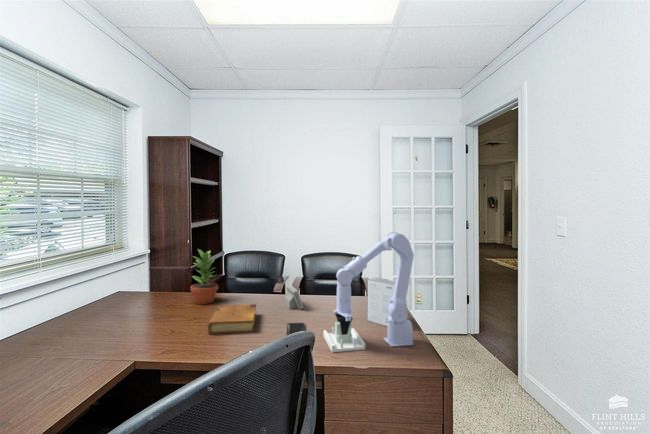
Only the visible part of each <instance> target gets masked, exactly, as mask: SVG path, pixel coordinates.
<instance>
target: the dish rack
mask: <svg viewBox="0 0 650 434" xmlns="http://www.w3.org/2000/svg"><path fill="white" fill-rule="evenodd" d="M331 328H332V331H331V332H330V333H329V332H327V330H326V329H323V338H324V339H325V340H324V341H325V342H326V344H327V345H328V347H329V350H330V351H331V353H339V352H349V351H350V352H351V351H352V352H353V351H360V350H361V351H364V350H366V342H365V341H364V339H363V338H362V337H361V336H360V335H359V333H358V332H357V331H356V329H355V328H354V327H351V334H350V341H343V340H342V339H341V342H340V335H338V342H336V340H335V326H332V327H331Z"/></svg>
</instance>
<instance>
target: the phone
mask: <svg viewBox="0 0 650 434" xmlns="http://www.w3.org/2000/svg"><path fill="white" fill-rule="evenodd" d="M286 326H287V327H286V336H287V335H289V334H292V333H295V332H299V331H305V332H306V325H305V322H289V323H287V324H286Z"/></svg>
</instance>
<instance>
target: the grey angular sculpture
mask: <svg viewBox="0 0 650 434" xmlns="http://www.w3.org/2000/svg"><path fill="white" fill-rule="evenodd" d="M285 287H286V291H287V294H286V295H285V297H284V306H286V307H287V308H288V309H289V310H295V309H297V310H303V309H304V304H303V302H302V299H301V296H300V293H299V291H298V290H297V288H295V287H294V286H293V285H292V284H286V286H285Z"/></svg>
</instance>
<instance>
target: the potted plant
mask: <svg viewBox="0 0 650 434" xmlns="http://www.w3.org/2000/svg"><path fill="white" fill-rule="evenodd" d="M197 252H198V254H199V256H200V258H199V257H197V256H193V258H194V259H195V262H193V264H194V265H195V266H196V267H198V268H199V269H200V270H199V269H195V271H196V272H197V273H199V274H200V275H201V276H197V275H192V276H191V277H192V278H193V279H194V281H196V282H198V283H196V284H192V285H191V286H190V292H191V293H192V297H193V300H194V303H195V304H198V305H206V304H212V303H213V302H214V301H215V298H216V295H217V292H218V291H217V290H218V289H219V284H218V283H214V282H210V280H211V278H214V277H216V276H218V274H214V273H215V272H216V271H215V270H214V269H216V267H217V266H216V267H214V266H213V267H212V268H211V266H212V264H213V263H214V262H215V258H213V259H210V258H211V254H210V253H211V250H208V251H206V252H204V251H203V250H202V249H199V248H197ZM212 270H214V271H212Z"/></svg>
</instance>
